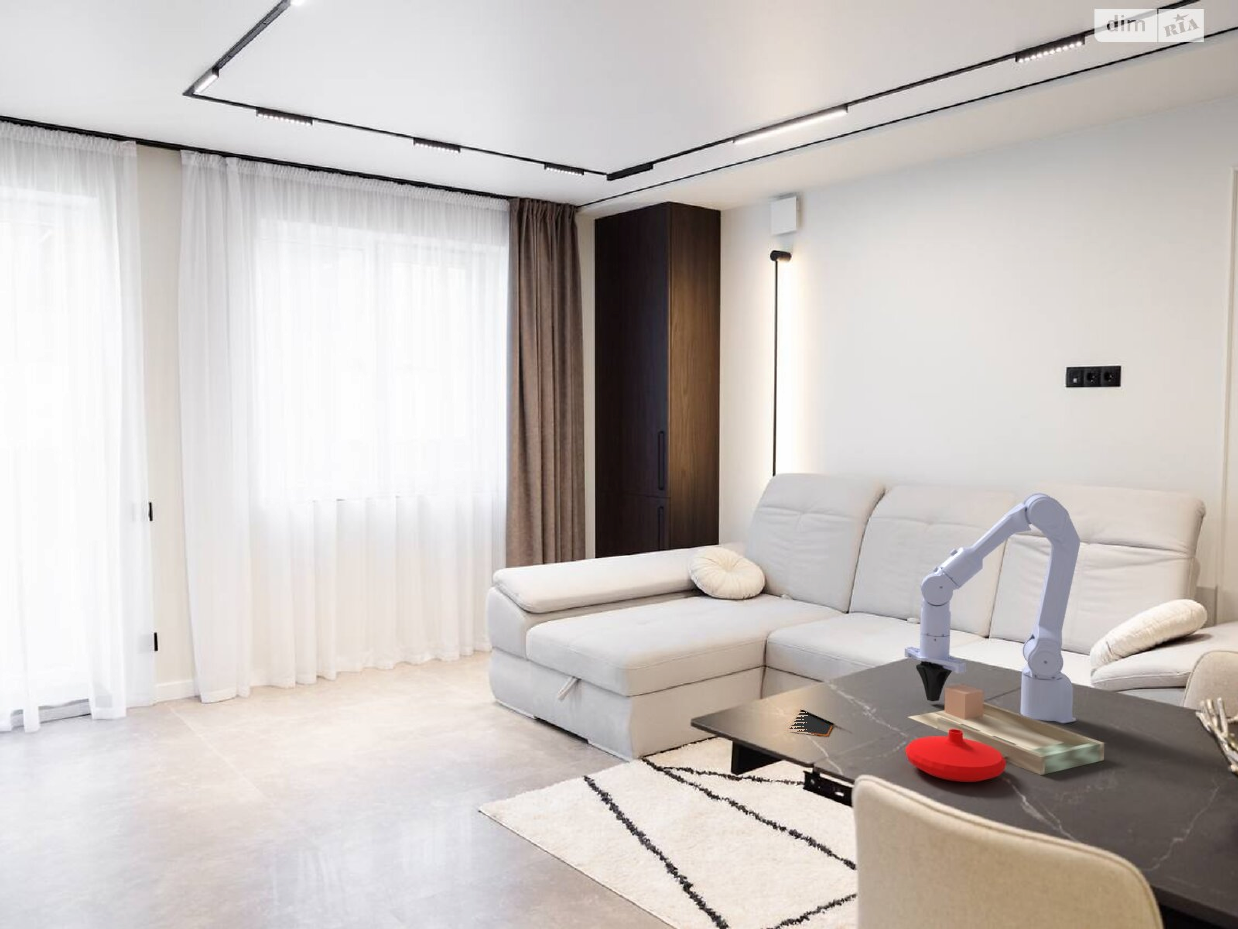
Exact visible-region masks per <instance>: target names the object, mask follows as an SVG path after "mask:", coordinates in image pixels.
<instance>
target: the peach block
mask: <svg viewBox="0 0 1238 929" xmlns="http://www.w3.org/2000/svg"><path fill="white" fill-rule="evenodd" d="M984 692H985V690H982V689H979V688H975V687H973V686H970V685H967V684H963V683H962V684H957V685H952V686H945V687H944V710H945V713H948V714H950V715H953V716H956V717H958V718H961V719H964V720H966V719H971V718H977V717H982V716H983V702H985V700H984V699H985V695H984V694H985V693H984Z"/></svg>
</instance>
